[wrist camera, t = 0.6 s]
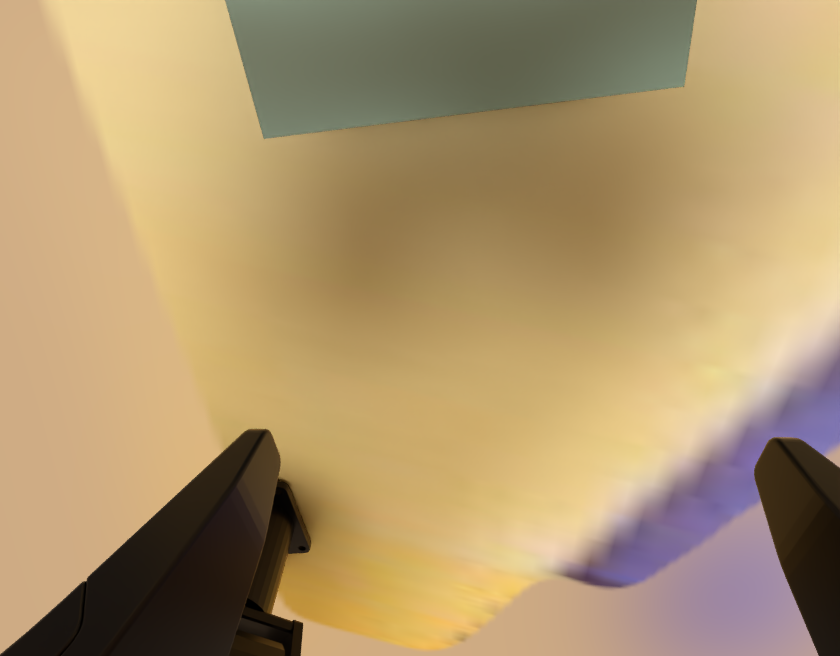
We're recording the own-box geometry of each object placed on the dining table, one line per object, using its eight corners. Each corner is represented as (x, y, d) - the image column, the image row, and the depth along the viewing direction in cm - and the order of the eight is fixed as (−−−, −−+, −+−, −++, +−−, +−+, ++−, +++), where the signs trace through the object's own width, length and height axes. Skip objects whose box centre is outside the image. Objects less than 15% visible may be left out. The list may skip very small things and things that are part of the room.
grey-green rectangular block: (601, 57, 17) (684, 86, 12) (319, 93, 18) (263, 138, 13) (609, -51, 16) (708, -80, 10) (299, -5, 17) (223, -6, 11)
